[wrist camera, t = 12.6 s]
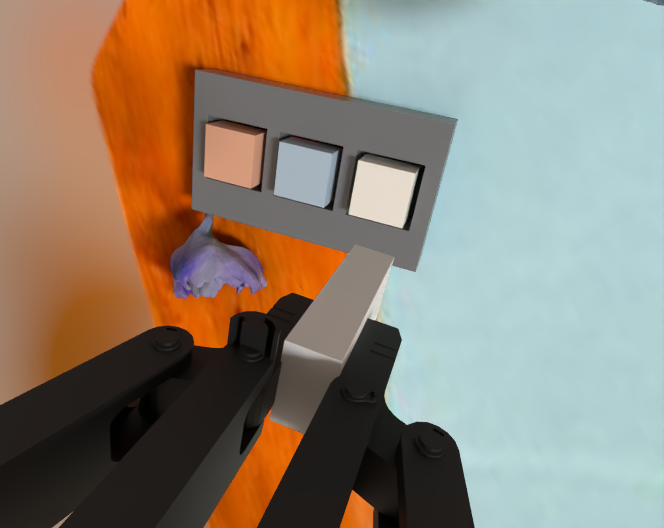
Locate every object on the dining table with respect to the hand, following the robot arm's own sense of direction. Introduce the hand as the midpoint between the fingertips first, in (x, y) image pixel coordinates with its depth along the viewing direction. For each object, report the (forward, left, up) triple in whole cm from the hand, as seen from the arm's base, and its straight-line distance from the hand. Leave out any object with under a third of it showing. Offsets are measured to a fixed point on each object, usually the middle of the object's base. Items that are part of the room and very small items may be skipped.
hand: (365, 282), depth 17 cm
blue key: (+3, -10, -22) cm, 24 cm away
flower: (+13, -18, -24) cm, 32 cm away
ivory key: (+3, -3, -22) cm, 22 cm away
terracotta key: (+3, -16, -22) cm, 27 cm away
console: (+3, -10, -23) cm, 25 cm away
